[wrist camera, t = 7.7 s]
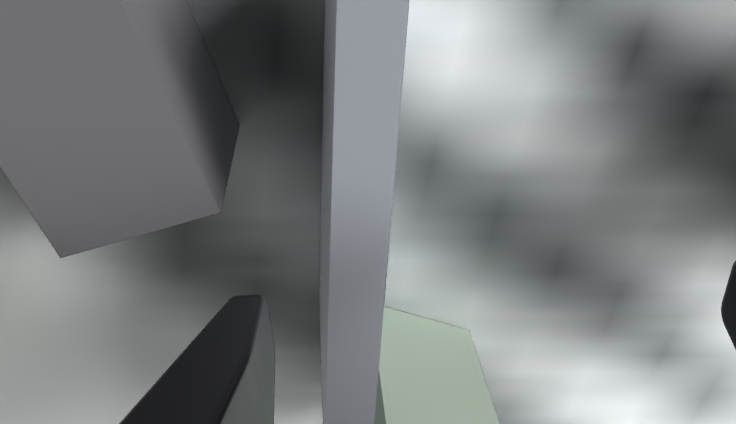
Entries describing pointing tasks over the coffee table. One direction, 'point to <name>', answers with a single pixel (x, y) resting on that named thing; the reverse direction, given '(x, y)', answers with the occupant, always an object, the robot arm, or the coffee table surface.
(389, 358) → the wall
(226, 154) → the grey rectangular block
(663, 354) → the coffee table surface
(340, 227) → the gray rectangular panel
